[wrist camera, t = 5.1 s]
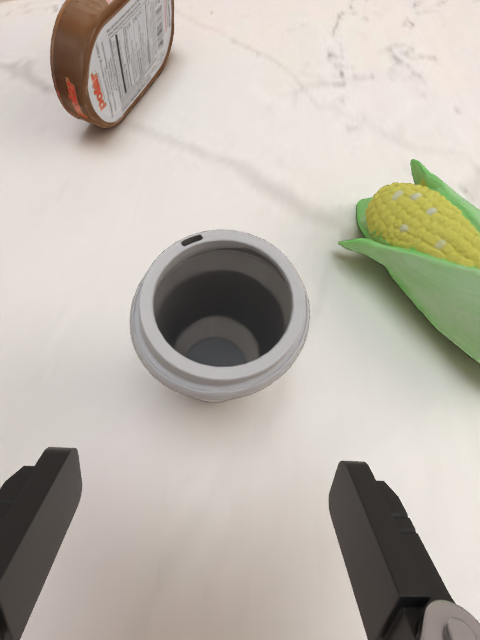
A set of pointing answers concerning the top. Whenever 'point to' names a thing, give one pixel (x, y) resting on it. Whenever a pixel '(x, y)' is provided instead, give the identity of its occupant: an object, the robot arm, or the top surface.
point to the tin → (109, 55)
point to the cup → (219, 315)
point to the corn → (428, 251)
